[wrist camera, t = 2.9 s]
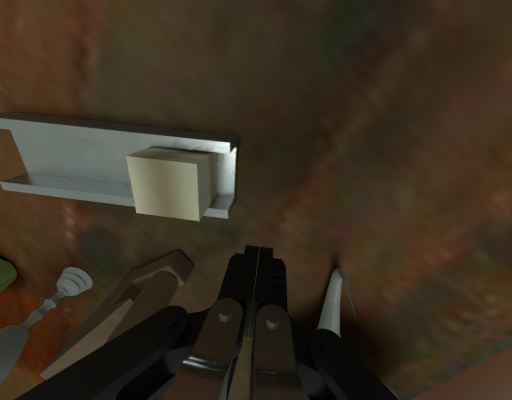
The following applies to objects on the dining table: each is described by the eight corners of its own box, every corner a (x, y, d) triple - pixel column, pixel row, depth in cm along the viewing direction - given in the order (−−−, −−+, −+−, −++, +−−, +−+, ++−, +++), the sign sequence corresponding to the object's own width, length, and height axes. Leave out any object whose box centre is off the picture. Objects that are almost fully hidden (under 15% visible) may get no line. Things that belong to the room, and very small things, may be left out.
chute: (238, 135, 23) (230, 142, 19) (235, 202, 27) (227, 218, 23) (13, 112, 25) (-33, 114, 21) (38, 177, 28) (3, 189, 25)
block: (216, 147, 23) (196, 164, 17) (216, 194, 25) (199, 221, 20) (162, 141, 23) (126, 156, 18) (167, 188, 26) (136, 212, 20)
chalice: (58, 255, 34) (-141, 398, 18) (99, 272, 35) (-57, 424, 19) (57, 284, 37) (-113, 427, 21) (95, 299, 38) (-42, 448, 22)
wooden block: (128, 271, 34) (-9, 428, 18) (180, 247, 31) (69, 414, 15) (144, 286, 35) (28, 447, 19) (195, 265, 32) (107, 438, 16)
